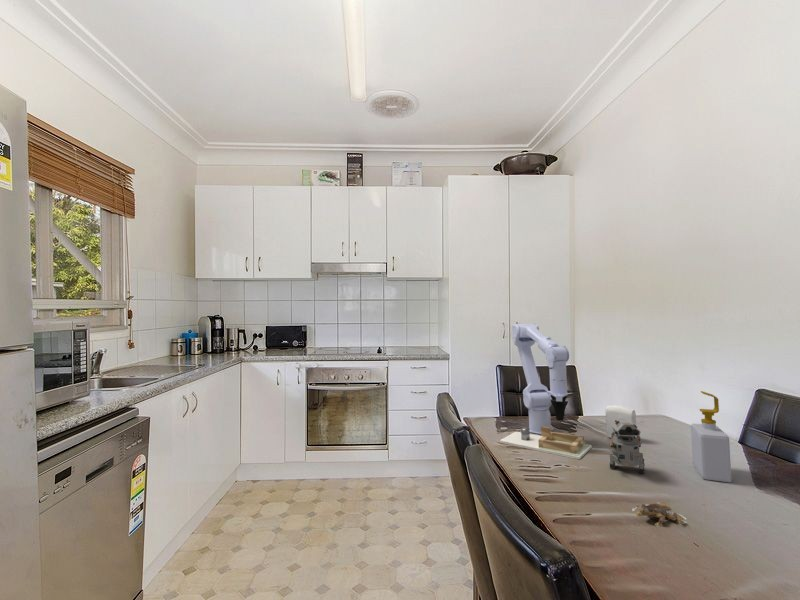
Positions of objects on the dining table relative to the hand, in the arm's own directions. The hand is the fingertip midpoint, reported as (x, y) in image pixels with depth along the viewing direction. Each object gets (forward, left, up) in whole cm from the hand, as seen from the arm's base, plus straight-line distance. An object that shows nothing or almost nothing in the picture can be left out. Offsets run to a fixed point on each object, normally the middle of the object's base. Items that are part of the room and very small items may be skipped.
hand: (559, 417), depth 144 cm
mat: (+5, +3, -9) cm, 10 cm away
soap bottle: (+1, +43, -10) cm, 44 cm away
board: (+5, -4, -9) cm, 11 cm away
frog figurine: (+39, +35, -10) cm, 53 cm away
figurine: (+14, +24, -10) cm, 29 cm away
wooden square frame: (+5, +2, -8) cm, 10 cm away
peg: (+5, -11, -9) cm, 15 cm away
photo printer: (-18, +16, -10) cm, 26 cm away
